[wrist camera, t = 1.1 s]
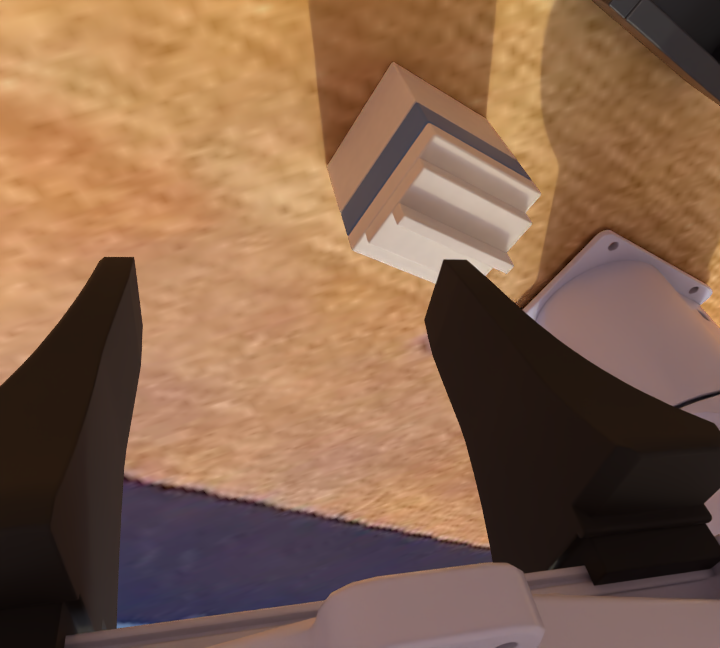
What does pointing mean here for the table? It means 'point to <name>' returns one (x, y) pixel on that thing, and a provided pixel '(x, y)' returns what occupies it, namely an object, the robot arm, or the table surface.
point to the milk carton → (428, 181)
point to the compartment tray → (676, 36)
